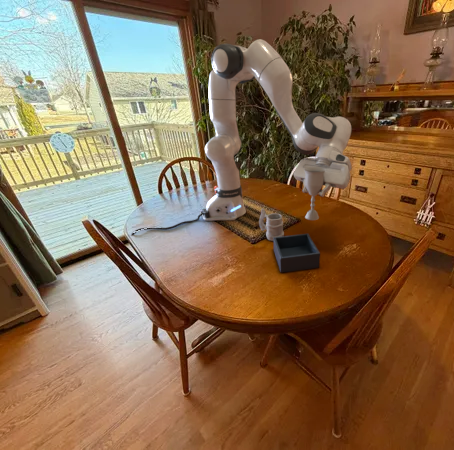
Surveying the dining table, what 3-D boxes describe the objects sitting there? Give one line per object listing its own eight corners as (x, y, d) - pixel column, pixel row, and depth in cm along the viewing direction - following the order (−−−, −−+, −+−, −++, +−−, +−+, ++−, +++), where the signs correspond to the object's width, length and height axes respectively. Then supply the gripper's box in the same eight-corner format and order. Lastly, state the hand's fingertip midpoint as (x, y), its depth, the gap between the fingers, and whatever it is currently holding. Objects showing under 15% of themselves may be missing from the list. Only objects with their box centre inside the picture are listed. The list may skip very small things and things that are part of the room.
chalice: (323, 214, 90) (327, 167, 81) (320, 222, 84) (324, 172, 76) (304, 212, 92) (305, 166, 83) (300, 220, 86) (302, 171, 78)
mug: (277, 243, 96) (276, 217, 91) (254, 235, 103) (253, 210, 97) (287, 235, 102) (287, 210, 96) (265, 228, 108) (264, 204, 102)
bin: (280, 272, 80) (280, 258, 78) (273, 250, 92) (273, 237, 89) (319, 267, 82) (320, 253, 79) (307, 246, 94) (308, 233, 91)
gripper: (299, 152, 88) (284, 184, 86) (353, 158, 77) (338, 195, 75) (304, 161, 94) (291, 192, 91) (356, 168, 82) (341, 203, 80)
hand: (312, 194), depth 83 cm, fingers closed on chalice, 5 cm apart
